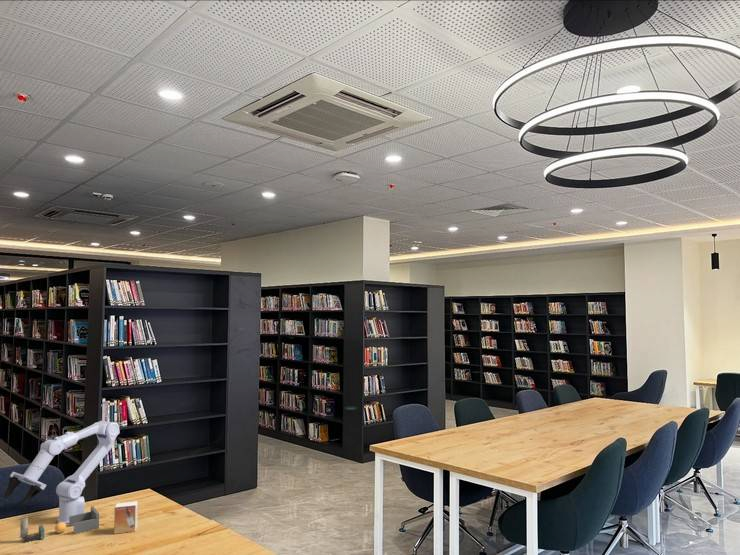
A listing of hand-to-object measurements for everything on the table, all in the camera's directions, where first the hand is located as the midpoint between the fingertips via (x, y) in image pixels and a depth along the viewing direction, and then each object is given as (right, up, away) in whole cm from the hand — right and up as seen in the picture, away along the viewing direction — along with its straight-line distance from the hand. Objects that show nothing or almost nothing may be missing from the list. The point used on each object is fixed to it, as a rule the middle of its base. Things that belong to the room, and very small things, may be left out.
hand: (14, 501), depth 215 cm
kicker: (+8, -15, -1) cm, 17 cm away
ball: (+16, -13, +5) cm, 21 cm away
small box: (+41, -15, +6) cm, 44 cm away
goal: (+22, -15, +10) cm, 29 cm away
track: (+8, -14, -1) cm, 16 cm away
